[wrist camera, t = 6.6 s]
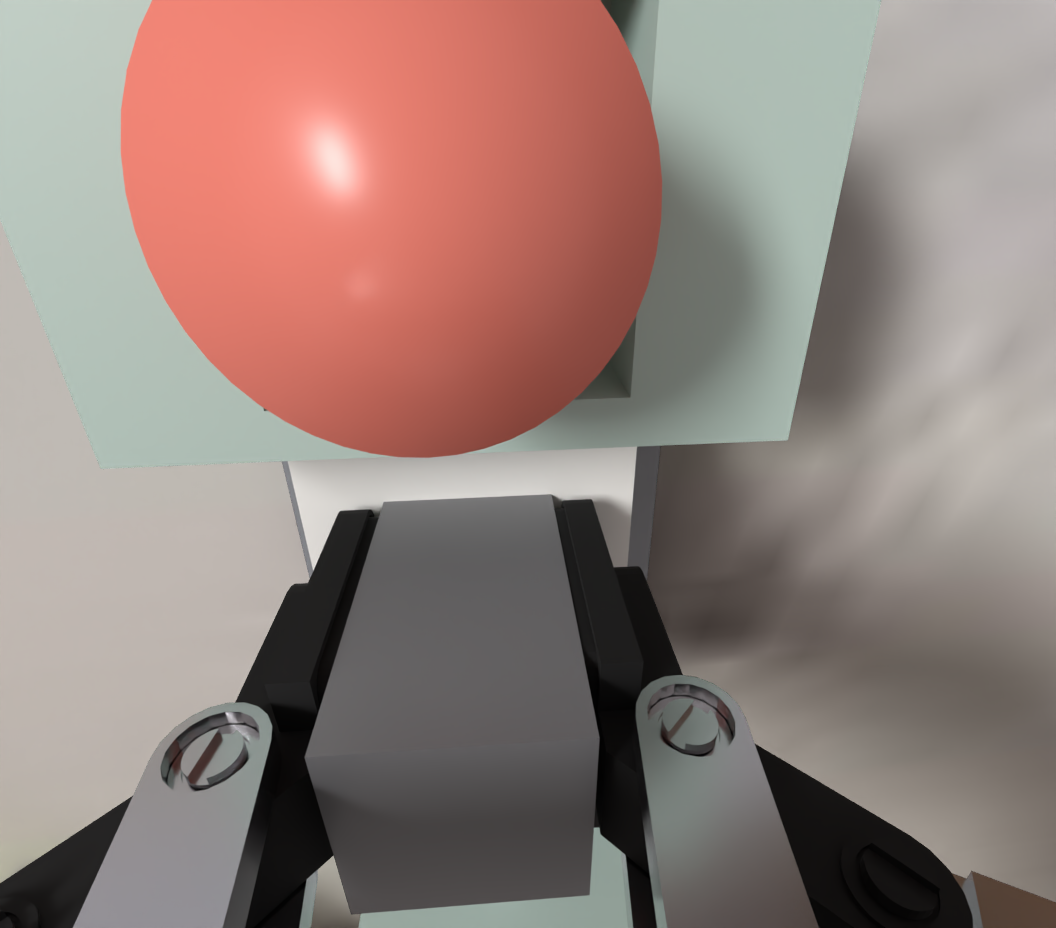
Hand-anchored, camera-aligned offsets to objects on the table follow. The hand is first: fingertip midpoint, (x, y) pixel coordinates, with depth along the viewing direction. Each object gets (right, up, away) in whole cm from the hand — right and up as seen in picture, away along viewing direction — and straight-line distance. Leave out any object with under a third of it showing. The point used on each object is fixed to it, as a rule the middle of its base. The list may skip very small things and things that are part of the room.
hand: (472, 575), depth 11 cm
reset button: (0, +5, -4) cm, 7 cm away
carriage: (0, +1, +2) cm, 2 cm away
